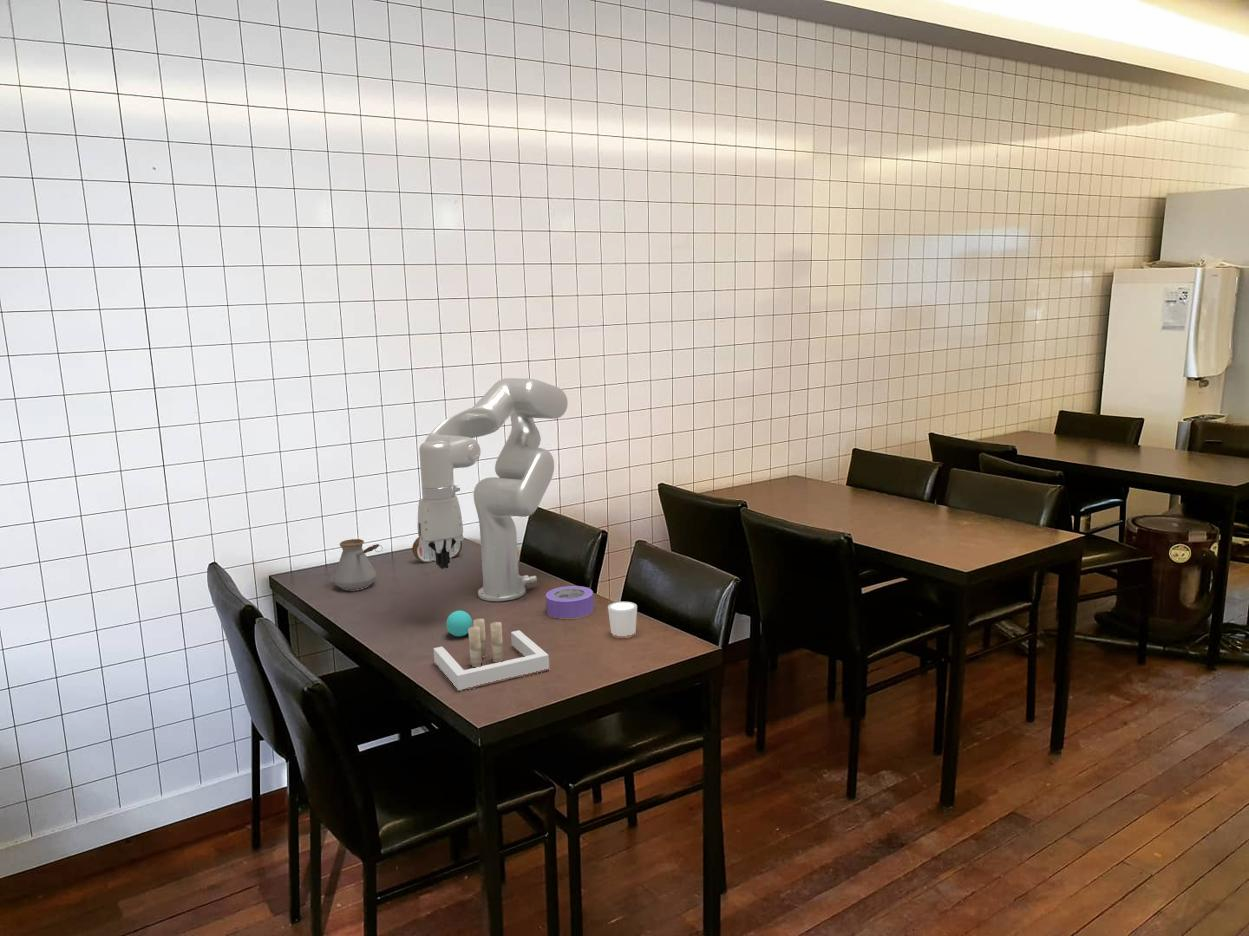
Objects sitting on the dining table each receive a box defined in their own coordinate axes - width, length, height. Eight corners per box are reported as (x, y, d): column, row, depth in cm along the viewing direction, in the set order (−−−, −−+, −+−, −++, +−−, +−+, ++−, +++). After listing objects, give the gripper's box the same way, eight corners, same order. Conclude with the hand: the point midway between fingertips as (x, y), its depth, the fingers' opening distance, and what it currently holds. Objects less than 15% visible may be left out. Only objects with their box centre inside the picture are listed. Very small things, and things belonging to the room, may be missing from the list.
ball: (468, 629, 223) (466, 605, 222) (476, 637, 218) (474, 612, 217) (443, 634, 221) (442, 610, 219) (451, 642, 215) (449, 617, 214)
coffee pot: (327, 587, 259) (322, 535, 256) (365, 577, 266) (360, 526, 263) (363, 604, 243) (358, 549, 240) (402, 593, 251) (398, 540, 248)
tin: (460, 554, 286) (458, 528, 285) (464, 557, 284) (462, 530, 282) (412, 563, 279) (410, 536, 277) (416, 565, 276) (414, 538, 275)
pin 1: (479, 662, 203) (477, 625, 202) (483, 666, 201) (481, 628, 199) (469, 664, 202) (466, 627, 200) (472, 668, 200) (470, 631, 198)
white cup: (612, 641, 213) (611, 612, 211) (605, 631, 219) (604, 603, 218) (641, 637, 214) (640, 608, 213) (633, 627, 221) (632, 599, 220)
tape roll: (544, 621, 228) (543, 601, 227) (548, 604, 239) (548, 586, 238) (592, 619, 227) (592, 600, 226) (594, 603, 239) (594, 585, 238)
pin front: (484, 653, 208) (482, 617, 206) (488, 657, 206) (485, 621, 204) (474, 656, 207) (471, 619, 205) (477, 659, 205) (475, 623, 203)
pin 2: (501, 657, 205) (499, 621, 204) (505, 661, 203) (503, 624, 202) (491, 659, 204) (488, 623, 203) (494, 663, 202) (492, 626, 201)
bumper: (520, 644, 212) (519, 630, 212) (549, 670, 198) (548, 655, 197) (434, 663, 203) (433, 648, 203) (458, 691, 189) (457, 675, 188)
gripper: (463, 486, 228) (468, 558, 231) (403, 494, 221) (408, 568, 224) (473, 491, 221) (477, 566, 225) (411, 499, 214) (417, 576, 218)
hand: (443, 567), depth 224 cm, fingers closed
